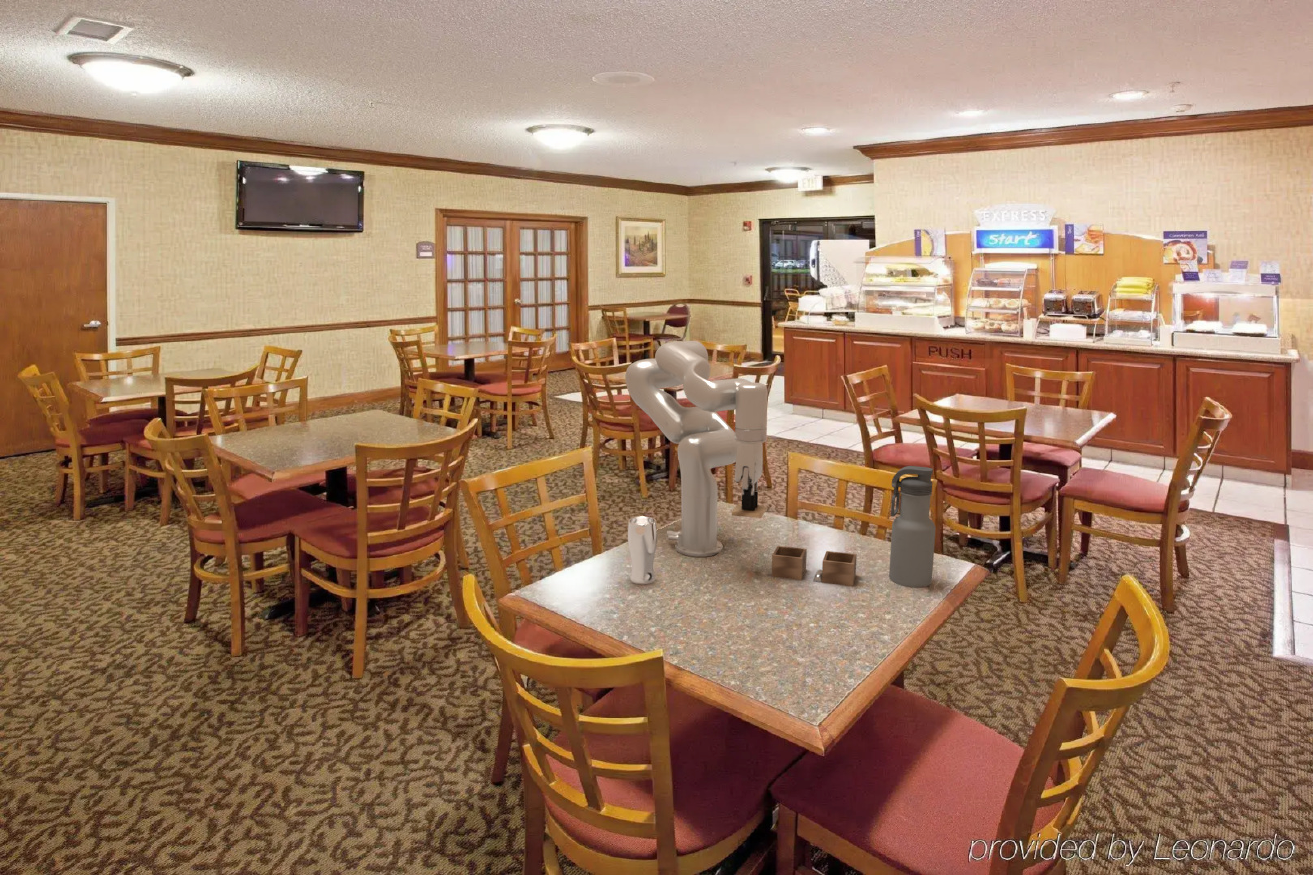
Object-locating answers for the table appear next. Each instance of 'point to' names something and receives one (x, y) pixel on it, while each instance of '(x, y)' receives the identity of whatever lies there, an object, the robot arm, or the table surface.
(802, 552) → the brown open box
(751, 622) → the table surface
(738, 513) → the lid
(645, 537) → the beer glass
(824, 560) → the brown square open-topped box
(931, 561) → the water bottle
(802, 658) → the table surface
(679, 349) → the robot arm
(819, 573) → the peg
